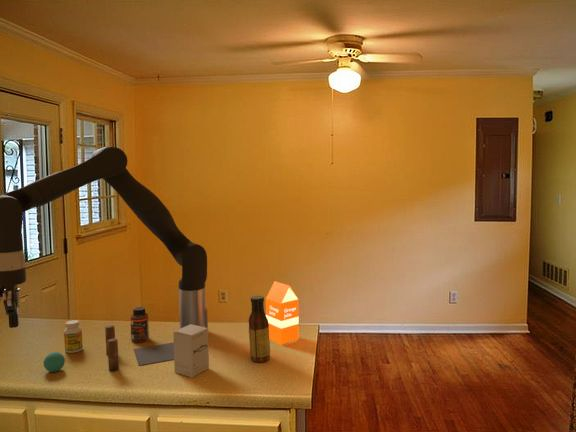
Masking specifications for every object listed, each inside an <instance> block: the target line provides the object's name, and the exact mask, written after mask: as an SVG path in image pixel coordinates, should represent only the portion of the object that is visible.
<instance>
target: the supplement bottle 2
mask: <svg viewBox="0 0 576 432" xmlns="http://www.w3.org/2000/svg"><path fill="white" fill-rule="evenodd" d="M149 328H150V326H149V315H148V313H147V312H146V308H145V307H144V306H137V307H134V308H133V309H132V314H131V315H130V339H131V342H133V343H143V342H144V343H145V342H146V341H148V340H149V338H150V331H149V330H150V329H149Z"/></svg>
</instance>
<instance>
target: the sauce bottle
mask: <svg viewBox="0 0 576 432" xmlns="http://www.w3.org/2000/svg"><path fill="white" fill-rule="evenodd" d="M250 302H251V313H250V315H249V318H248V336H249V354H250V359H251V361H252V362H256V363H264V362H267V361H269V359H270V358H271V355H270V354H271V343H270V340H269V323H268V320H267V317H266V311H265V306H264V303H265V297H264V296H262V295H253V296H251V297H250Z"/></svg>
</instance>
